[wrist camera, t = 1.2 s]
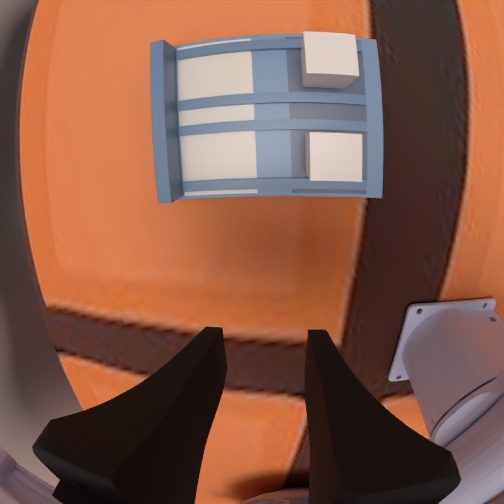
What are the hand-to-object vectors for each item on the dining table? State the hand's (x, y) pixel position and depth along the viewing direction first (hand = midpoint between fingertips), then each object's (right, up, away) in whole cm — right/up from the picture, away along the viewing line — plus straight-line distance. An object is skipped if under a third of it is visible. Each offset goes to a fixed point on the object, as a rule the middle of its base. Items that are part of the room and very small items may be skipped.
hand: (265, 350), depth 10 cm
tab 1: (+3, +14, +3) cm, 15 cm away
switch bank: (+1, +12, +6) cm, 13 cm away
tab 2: (+4, +9, +5) cm, 11 cm away
